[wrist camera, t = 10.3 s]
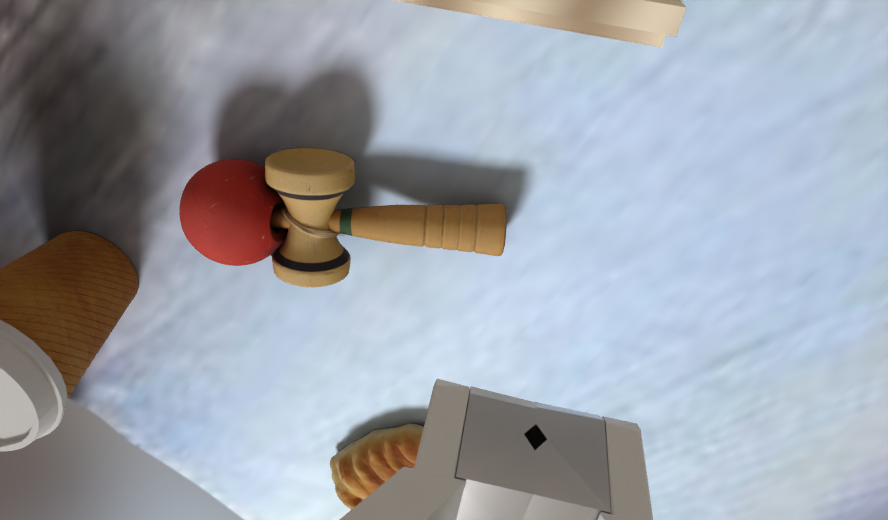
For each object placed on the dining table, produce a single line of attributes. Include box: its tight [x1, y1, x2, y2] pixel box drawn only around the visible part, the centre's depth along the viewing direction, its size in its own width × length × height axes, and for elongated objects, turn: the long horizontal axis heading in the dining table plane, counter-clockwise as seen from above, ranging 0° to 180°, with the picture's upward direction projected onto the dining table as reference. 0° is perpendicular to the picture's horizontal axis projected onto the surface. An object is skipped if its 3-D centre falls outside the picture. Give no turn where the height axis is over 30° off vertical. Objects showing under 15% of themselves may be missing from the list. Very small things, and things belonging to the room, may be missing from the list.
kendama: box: [180, 148, 506, 287], centre depth 35 cm, size 8×6×18 cm
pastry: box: [330, 423, 424, 510], centre depth 48 cm, size 9×7×4 cm
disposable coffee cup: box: [0, 231, 138, 451], centre depth 38 cm, size 10×10×12 cm
